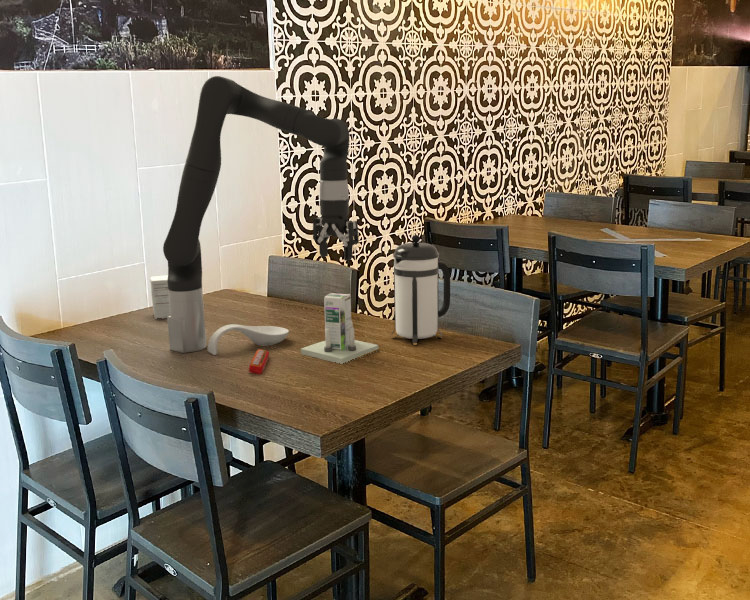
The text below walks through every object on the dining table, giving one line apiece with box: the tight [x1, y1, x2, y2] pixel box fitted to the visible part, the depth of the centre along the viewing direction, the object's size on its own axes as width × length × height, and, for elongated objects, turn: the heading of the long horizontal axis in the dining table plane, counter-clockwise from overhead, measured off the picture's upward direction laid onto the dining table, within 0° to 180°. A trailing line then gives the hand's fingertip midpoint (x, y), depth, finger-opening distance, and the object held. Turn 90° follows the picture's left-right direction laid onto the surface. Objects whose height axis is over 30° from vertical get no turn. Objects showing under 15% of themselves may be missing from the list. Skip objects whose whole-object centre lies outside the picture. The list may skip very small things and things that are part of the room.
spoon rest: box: [207, 323, 290, 356], centre depth 231 cm, size 24×12×7 cm, turn 126°
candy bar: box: [248, 348, 270, 375], centre depth 215 cm, size 16×4×3 cm, turn 0°
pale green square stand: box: [300, 321, 380, 365], centre depth 224 cm, size 15×15×8 cm
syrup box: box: [323, 292, 352, 350], centre depth 223 cm, size 6×6×14 cm
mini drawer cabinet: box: [149, 274, 170, 320], centre depth 266 cm, size 7×7×13 cm
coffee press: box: [390, 234, 451, 344], centre depth 233 cm, size 17×16×30 cm
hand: (335, 258), depth 219 cm, fingers open, 8 cm apart
